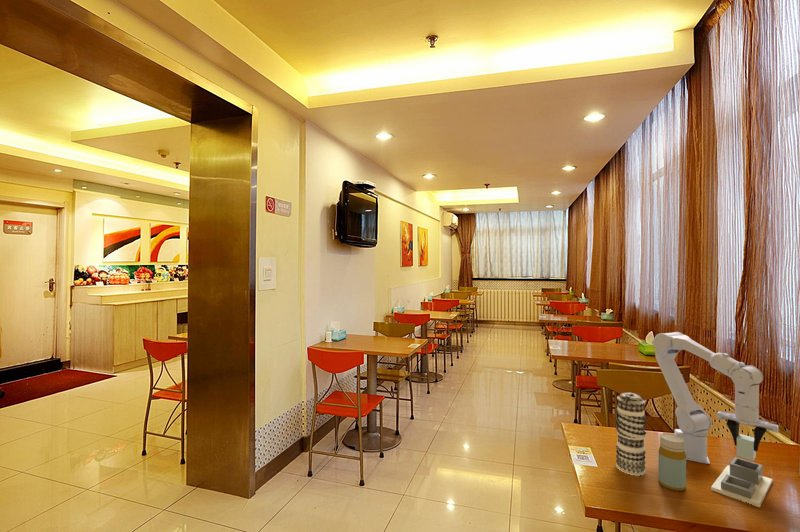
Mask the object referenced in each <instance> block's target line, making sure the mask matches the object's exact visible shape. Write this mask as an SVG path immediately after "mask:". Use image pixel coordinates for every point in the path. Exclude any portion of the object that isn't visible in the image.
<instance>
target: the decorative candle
mask: <svg viewBox="0 0 800 532" xmlns="http://www.w3.org/2000/svg"><path fill="white" fill-rule="evenodd" d="M616 398H617V408H615V411H614V413H615V418H614V420H615V424H616V428H615V431H616V434H617V441H616V443H617V444H616V445H615V448H616V450H615V452H616V455H615V458H616V459H615V462H616V463H615V464H616V465H615V466H616V467H615V468H616V469H619V470H618V471H620V470H621V471H622V473H623V472H625V473H624V474H626V473H627V474H626V475H628V474H630V476H633V475H635V476H634V477H641V476H644V475H645V474H646V470H645V469H646V465H645V464H646V463H647V462H646V460H645V459H646V455H645V454H646V453H647V452H646V450H645V444H644V443H645V439H646V434H647V432H646V430H647V427H646V426H645V425H646V424H647V423H648V422H647V421H646V420H647V418H648V417H647V415H646V414H645V403H646V401H645V400H644V399H643V398H642V396H641V395H639V394H637V393H633V392H621V393H620V394H619V395H617V397H616ZM621 471H620V472H621ZM640 475H641V476H640Z"/></svg>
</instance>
